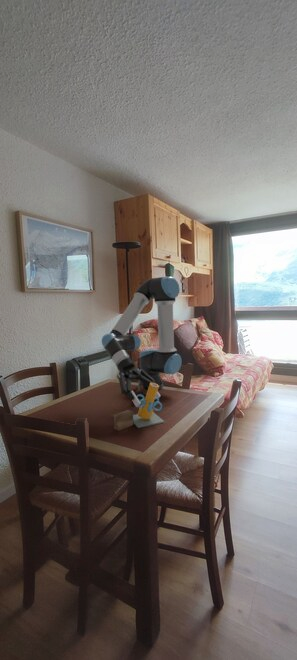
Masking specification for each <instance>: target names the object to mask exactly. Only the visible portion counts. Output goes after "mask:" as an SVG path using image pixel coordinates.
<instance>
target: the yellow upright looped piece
mask: <svg viewBox="0 0 297 660" xmlns="http://www.w3.org/2000/svg"><path fill="white" fill-rule="evenodd" d="M158 388H159V385H158V384H156V383H150V385H149V388H148V391H147V394H145V396H144V395H143V394H142V395H141V394H138V395H137V397H138V396H141V397H140V399H139V401H140V403H141V404H140V405H139V406H138V407H137V408H138V412H137V414H138V415H139V417H141V418H143V419H150V418H151V416H152V413H153V412H154V411H156V412H159V411H161V410H162V409H163V404H162V403H161V402H160V397H159V398H158V397H156V394H157V391H158V392H159V390H158ZM156 399H157V400H156ZM155 400H156V401H155ZM157 405H159V408H156V407H155V406H157Z"/></svg>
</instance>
